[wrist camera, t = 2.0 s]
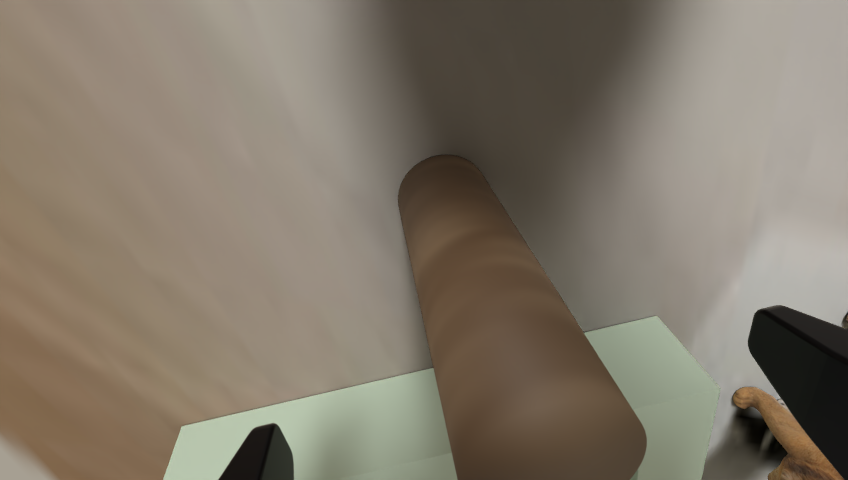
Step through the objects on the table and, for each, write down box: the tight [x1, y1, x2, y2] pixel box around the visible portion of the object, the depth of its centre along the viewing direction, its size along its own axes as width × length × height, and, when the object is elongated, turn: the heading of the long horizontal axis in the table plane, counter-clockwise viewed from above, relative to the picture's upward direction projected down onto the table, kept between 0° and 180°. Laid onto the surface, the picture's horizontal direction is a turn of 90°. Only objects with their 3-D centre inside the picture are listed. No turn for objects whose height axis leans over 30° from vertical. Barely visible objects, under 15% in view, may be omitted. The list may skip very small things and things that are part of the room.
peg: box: [398, 155, 647, 480], centre depth 12 cm, size 3×3×10 cm
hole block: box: [163, 316, 721, 480], centre depth 20 cm, size 20×9×4 cm, turn 100°
